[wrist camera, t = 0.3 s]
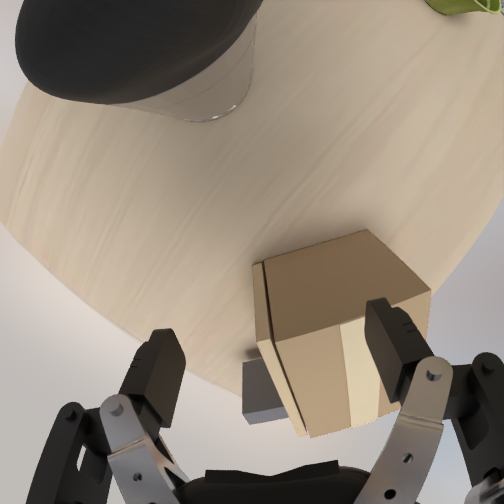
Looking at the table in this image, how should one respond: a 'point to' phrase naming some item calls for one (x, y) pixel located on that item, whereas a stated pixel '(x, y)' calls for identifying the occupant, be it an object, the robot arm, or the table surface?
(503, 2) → the milk carton
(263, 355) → the front flap
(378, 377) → the carton
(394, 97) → the table surface
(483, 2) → the plant pot
